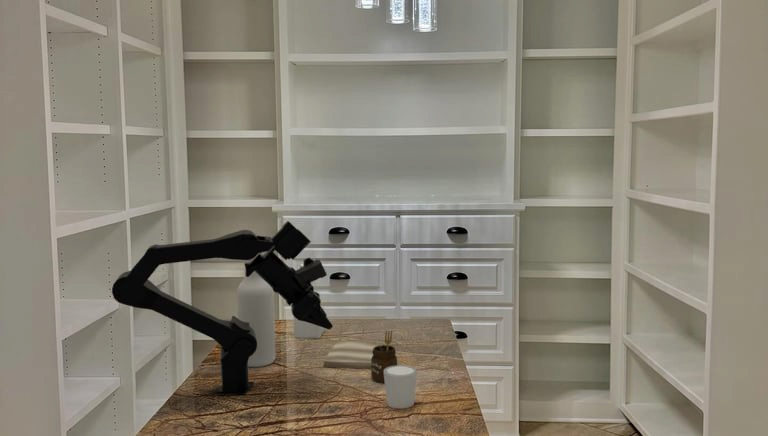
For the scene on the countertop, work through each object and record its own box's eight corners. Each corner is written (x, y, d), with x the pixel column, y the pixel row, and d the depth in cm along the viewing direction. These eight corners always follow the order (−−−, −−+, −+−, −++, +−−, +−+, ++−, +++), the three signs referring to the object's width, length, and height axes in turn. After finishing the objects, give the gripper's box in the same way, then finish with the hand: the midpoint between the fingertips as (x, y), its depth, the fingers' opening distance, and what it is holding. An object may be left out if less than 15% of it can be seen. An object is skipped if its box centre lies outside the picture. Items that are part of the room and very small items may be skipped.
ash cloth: (381, 369, 158) (381, 363, 158) (323, 367, 160) (323, 361, 160) (390, 348, 174) (390, 342, 174) (337, 346, 176) (337, 341, 175)
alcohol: (239, 369, 159) (234, 244, 156) (239, 357, 168) (235, 238, 164) (276, 366, 161) (272, 242, 157) (275, 355, 169) (271, 237, 166)
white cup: (397, 394, 142) (397, 362, 142) (423, 402, 138) (423, 369, 137) (376, 404, 137) (376, 371, 136) (403, 412, 133) (403, 378, 132)
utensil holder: (391, 372, 156) (391, 322, 154) (402, 381, 150) (401, 329, 149) (367, 375, 154) (366, 324, 152) (377, 385, 148) (376, 332, 146)
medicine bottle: (324, 331, 190) (323, 289, 189) (319, 338, 183) (318, 295, 182) (299, 330, 191) (298, 289, 189) (294, 338, 184) (292, 295, 182)
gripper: (309, 255, 137) (361, 306, 141) (300, 242, 155) (346, 287, 159) (270, 294, 136) (324, 344, 140) (265, 276, 155) (313, 321, 158)
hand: (328, 322), depth 149 cm, fingers open, 9 cm apart
